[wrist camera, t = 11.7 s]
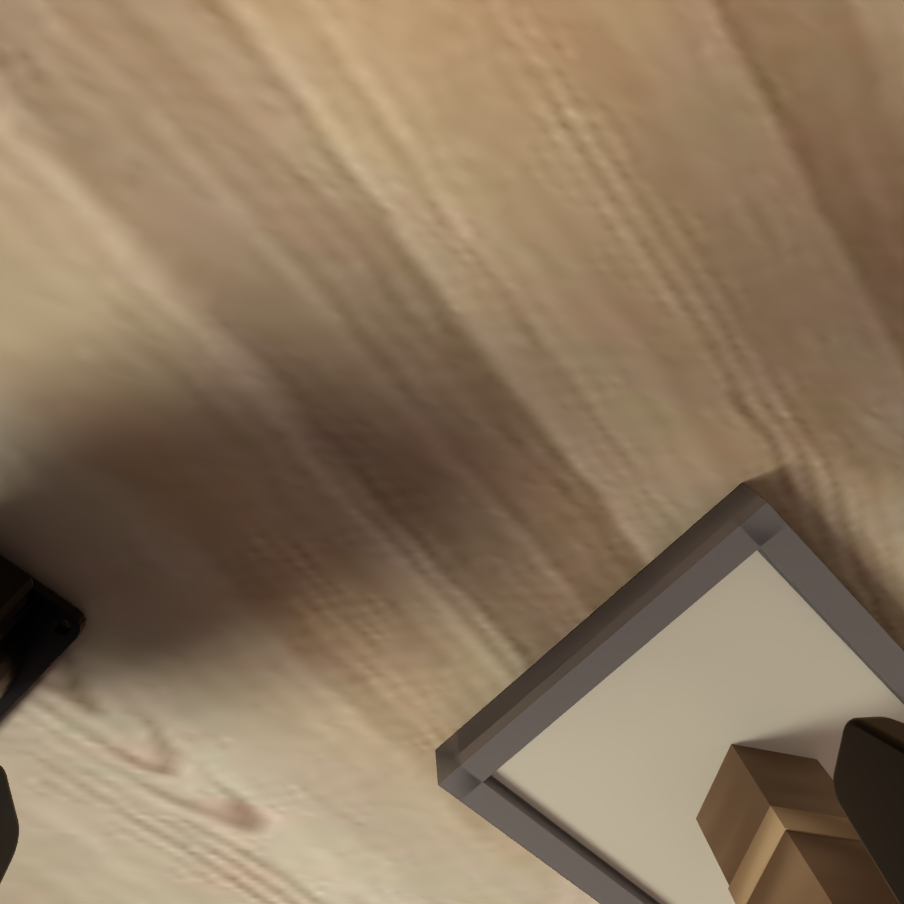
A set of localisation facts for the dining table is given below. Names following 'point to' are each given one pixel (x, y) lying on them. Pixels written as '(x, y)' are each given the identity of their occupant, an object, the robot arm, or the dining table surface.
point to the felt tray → (674, 706)
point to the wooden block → (785, 834)
